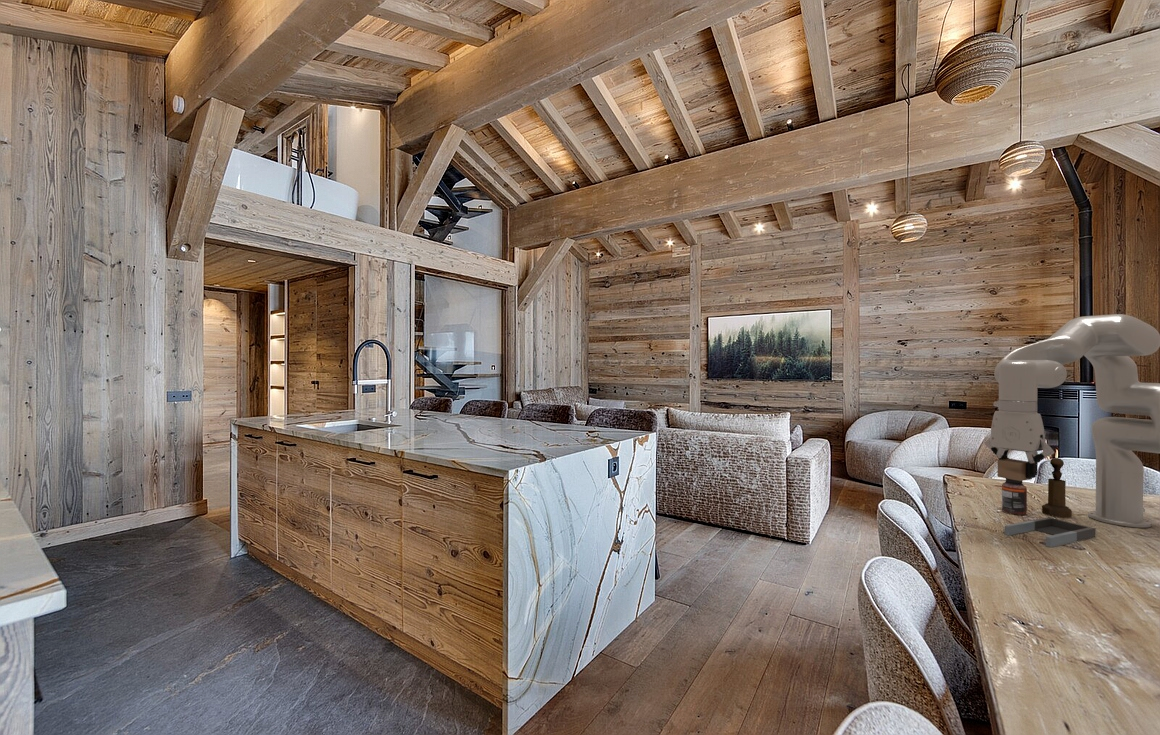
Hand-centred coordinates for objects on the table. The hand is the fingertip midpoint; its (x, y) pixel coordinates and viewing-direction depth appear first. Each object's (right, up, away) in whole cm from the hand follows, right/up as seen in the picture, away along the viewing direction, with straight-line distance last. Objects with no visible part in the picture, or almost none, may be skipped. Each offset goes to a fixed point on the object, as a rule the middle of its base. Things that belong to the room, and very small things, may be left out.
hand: (1017, 474), depth 125 cm
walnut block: (-1, -1, 0) cm, 2 cm away
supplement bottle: (+23, -18, +26) cm, 39 cm away
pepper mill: (+34, -18, +23) cm, 45 cm away
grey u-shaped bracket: (+13, -18, +5) cm, 23 cm away
